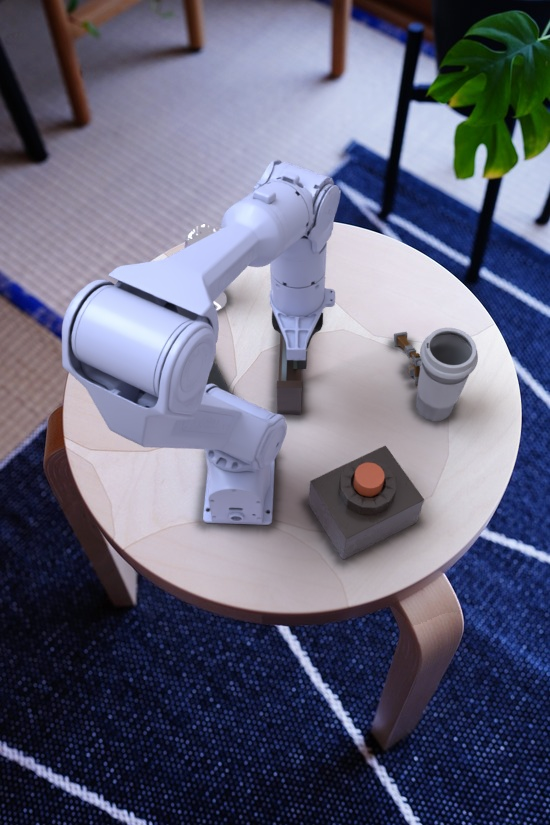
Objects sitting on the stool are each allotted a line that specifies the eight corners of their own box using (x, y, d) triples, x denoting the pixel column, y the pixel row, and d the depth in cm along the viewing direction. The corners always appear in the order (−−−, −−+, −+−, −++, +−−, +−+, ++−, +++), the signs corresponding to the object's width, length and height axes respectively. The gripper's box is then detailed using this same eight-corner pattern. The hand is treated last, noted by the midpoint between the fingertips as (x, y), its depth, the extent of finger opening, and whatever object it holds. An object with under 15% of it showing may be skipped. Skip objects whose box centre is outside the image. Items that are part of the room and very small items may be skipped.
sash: (306, 374, 100) (307, 355, 97) (293, 374, 101) (293, 355, 97) (307, 297, 108) (308, 277, 105) (295, 297, 108) (296, 277, 105)
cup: (408, 381, 101) (422, 321, 91) (459, 385, 101) (479, 325, 91) (407, 427, 97) (421, 369, 88) (460, 431, 97) (481, 374, 87)
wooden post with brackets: (413, 390, 99) (414, 359, 97) (393, 361, 106) (393, 332, 104) (427, 388, 100) (427, 357, 97) (406, 359, 106) (406, 330, 104)
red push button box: (342, 560, 88) (347, 531, 81) (308, 504, 92) (310, 472, 85) (417, 522, 90) (427, 492, 84) (380, 469, 94) (387, 436, 88)
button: (363, 501, 84) (364, 492, 82) (347, 478, 85) (349, 469, 84) (388, 489, 85) (390, 480, 83) (372, 467, 86) (374, 457, 84)
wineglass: (184, 292, 110) (175, 229, 100) (222, 280, 112) (216, 216, 102) (199, 321, 107) (191, 258, 97) (237, 307, 109) (233, 244, 99)
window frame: (300, 415, 99) (301, 387, 94) (276, 414, 99) (276, 387, 94) (304, 246, 115) (305, 215, 110) (284, 246, 115) (284, 215, 110)
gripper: (337, 323, 76) (331, 399, 87) (336, 217, 84) (331, 299, 95) (265, 322, 76) (269, 397, 88) (271, 216, 84) (274, 298, 95)
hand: (297, 346), depth 91 cm, fingers closed
